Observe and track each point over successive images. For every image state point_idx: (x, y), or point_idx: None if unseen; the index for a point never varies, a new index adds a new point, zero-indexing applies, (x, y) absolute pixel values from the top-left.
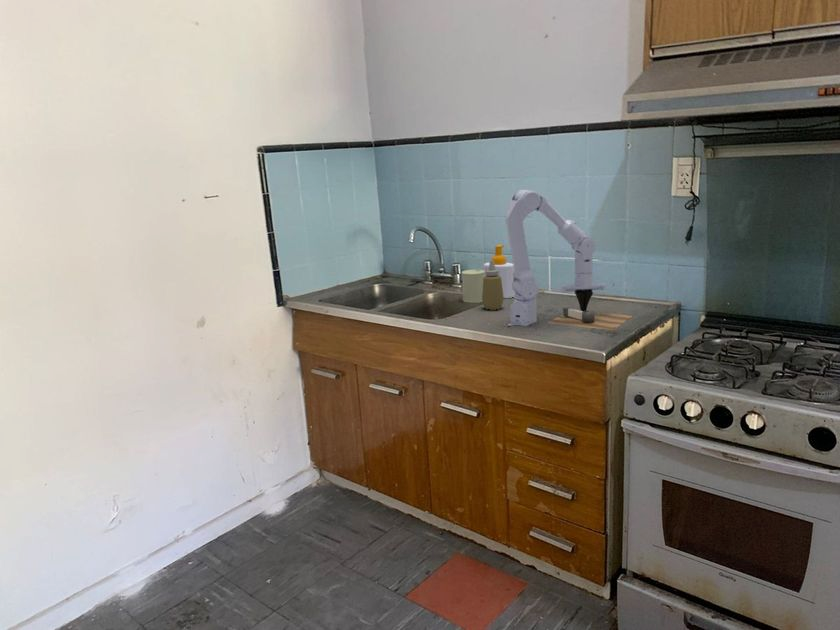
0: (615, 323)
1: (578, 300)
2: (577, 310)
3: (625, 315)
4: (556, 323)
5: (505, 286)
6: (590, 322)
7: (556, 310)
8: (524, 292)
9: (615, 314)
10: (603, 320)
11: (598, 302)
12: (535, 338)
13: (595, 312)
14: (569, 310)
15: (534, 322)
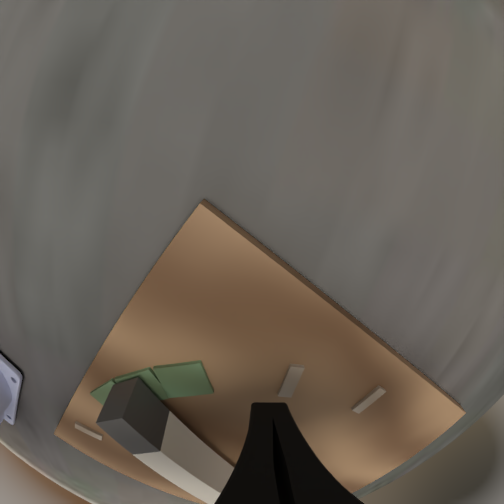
0: None
1: (232, 478)
2: (195, 485)
3: (454, 409)
4: (92, 455)
5: None
6: None
7: (114, 84)
8: None
9: (438, 395)
10: None
11: (487, 11)
12: (59, 478)
13: (381, 350)
14: (144, 457)
15: (8, 405)
